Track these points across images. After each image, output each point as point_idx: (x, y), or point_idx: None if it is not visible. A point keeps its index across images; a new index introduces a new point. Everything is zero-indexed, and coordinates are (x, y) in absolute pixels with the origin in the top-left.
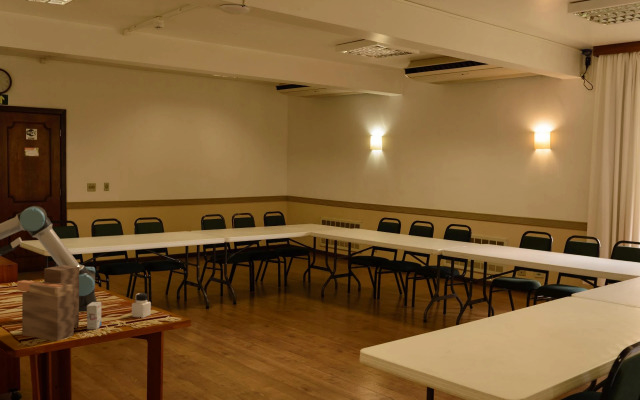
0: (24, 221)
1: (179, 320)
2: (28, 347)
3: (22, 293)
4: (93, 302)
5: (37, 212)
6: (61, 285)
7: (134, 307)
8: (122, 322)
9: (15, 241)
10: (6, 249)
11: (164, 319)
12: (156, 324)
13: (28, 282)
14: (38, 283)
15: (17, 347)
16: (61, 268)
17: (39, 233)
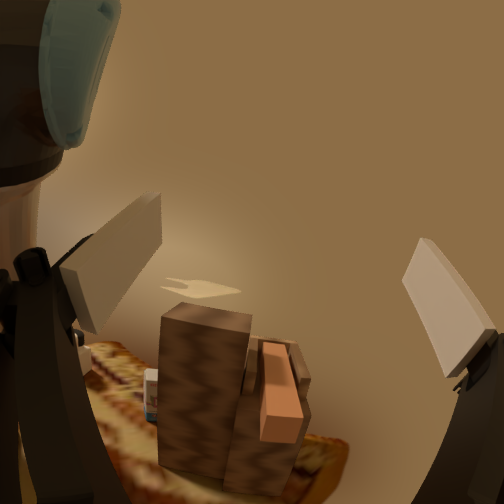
0: (101, 53)
1: (110, 344)
2: (331, 442)
3: (310, 418)
4: (150, 377)
5: (109, 49)
6: (269, 343)
7: (81, 360)
8: (122, 388)
9: (129, 236)
10: (86, 401)
11: (103, 353)
12: (133, 360)
13: (290, 391)
14: (283, 372)
15: (343, 452)
16: (224, 315)
17: (52, 173)
